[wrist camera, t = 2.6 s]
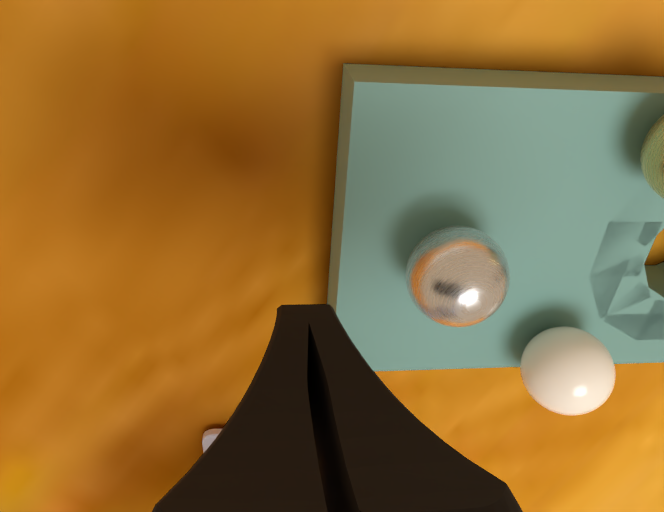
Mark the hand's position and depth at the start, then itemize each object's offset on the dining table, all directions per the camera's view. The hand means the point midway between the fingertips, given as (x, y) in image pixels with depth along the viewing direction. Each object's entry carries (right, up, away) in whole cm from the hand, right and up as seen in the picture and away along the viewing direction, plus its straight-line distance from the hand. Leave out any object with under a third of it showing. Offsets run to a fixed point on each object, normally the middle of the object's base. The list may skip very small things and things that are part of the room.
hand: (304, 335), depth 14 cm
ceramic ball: (+9, -2, +6) cm, 11 cm away
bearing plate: (+10, +4, +7) cm, 13 cm away
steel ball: (+5, +1, +3) cm, 6 cm away
